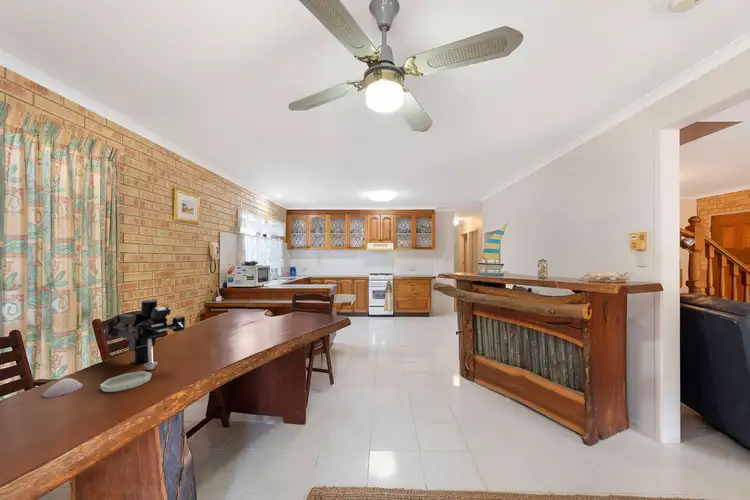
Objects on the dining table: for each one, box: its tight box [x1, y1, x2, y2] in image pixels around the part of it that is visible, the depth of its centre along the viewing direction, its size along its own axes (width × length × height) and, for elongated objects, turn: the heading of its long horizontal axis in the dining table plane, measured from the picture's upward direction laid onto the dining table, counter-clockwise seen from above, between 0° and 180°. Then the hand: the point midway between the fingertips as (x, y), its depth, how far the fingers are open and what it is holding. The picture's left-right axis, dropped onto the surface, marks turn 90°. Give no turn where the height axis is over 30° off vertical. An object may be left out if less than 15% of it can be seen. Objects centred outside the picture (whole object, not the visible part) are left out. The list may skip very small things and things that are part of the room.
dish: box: [99, 370, 153, 393], centre depth 116 cm, size 14×14×2 cm
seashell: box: [41, 377, 84, 399], centre depth 111 cm, size 10×6×10 cm
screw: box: [142, 339, 158, 371], centre depth 130 cm, size 13×5×5 cm
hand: (172, 330), depth 128 cm, fingers open, 9 cm apart
